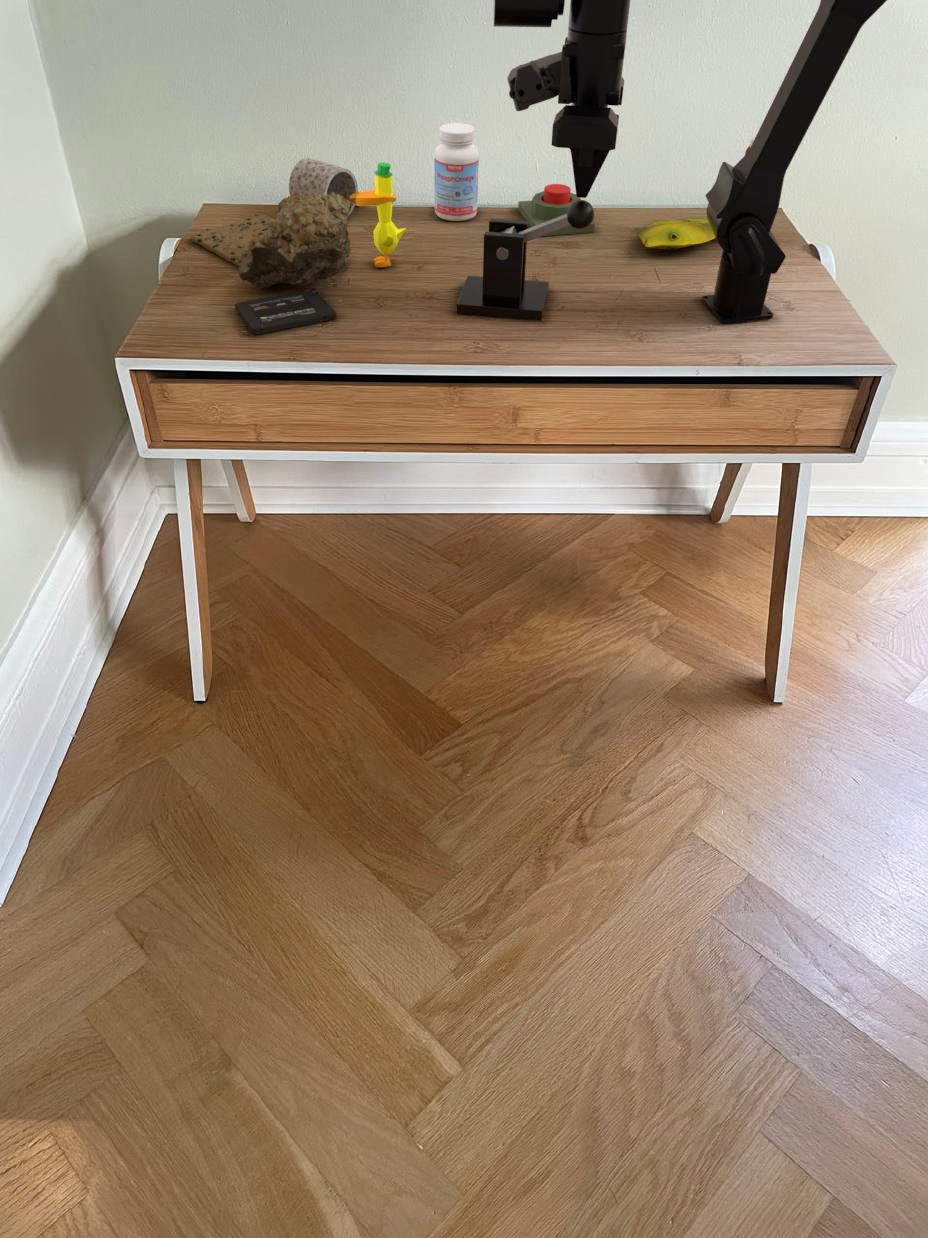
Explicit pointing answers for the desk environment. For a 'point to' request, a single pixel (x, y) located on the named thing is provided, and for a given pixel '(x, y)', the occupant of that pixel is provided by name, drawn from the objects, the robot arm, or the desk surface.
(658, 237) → the fish
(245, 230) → the cookie
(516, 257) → the bracket
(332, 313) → the solid state drive
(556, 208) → the button block
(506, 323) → the desk surface
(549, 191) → the button
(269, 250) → the mineral specimen
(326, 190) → the speckled mug
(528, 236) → the lever
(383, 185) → the toy figure
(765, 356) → the desk surface
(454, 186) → the pill bottle
